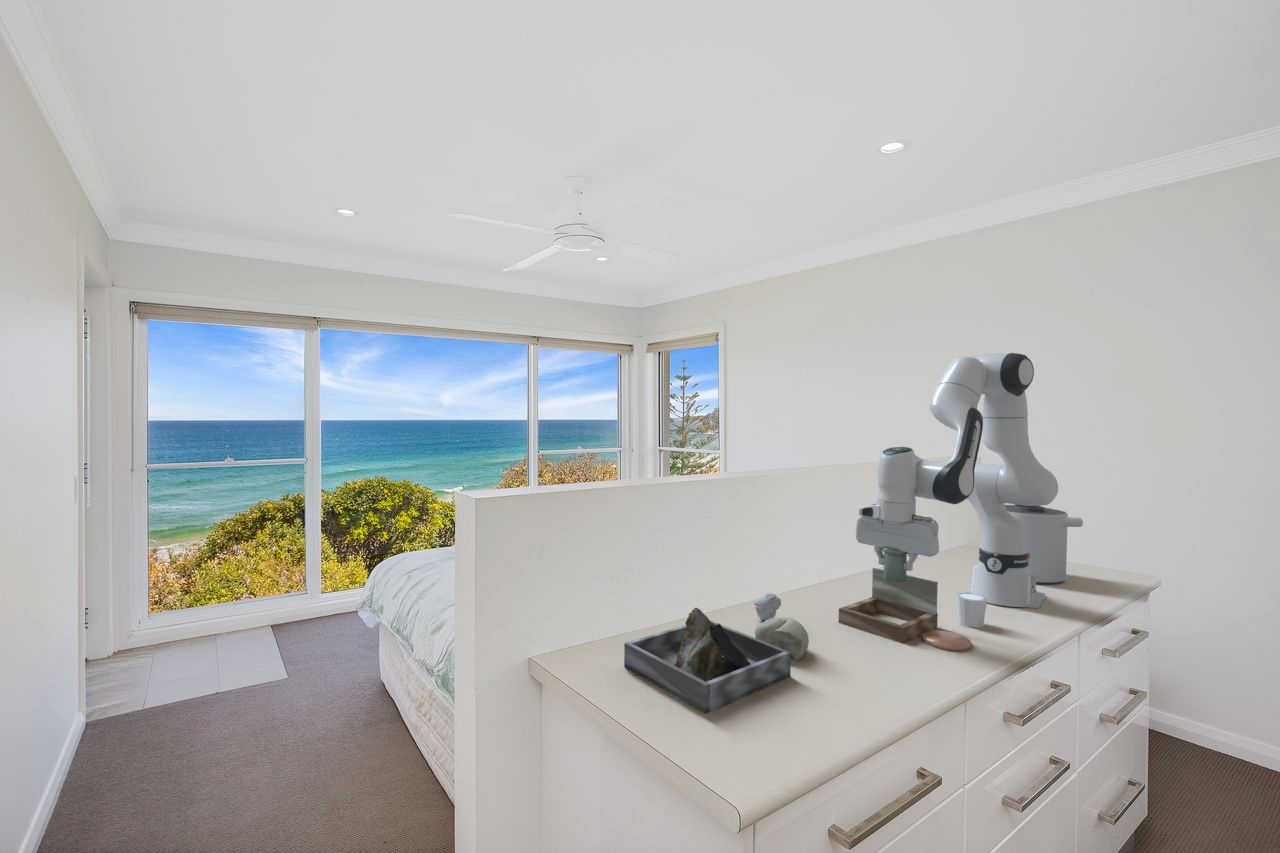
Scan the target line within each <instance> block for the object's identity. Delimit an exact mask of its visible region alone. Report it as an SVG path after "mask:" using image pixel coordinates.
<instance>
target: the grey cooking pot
mask: <svg viewBox="0 0 1280 853" xmlns="http://www.w3.org/2000/svg"><path fill="white" fill-rule="evenodd" d="M1005 507H1006V509H1007V511H1008V512H1009V513H1010V514H1011V515H1012V516H1014V517H1015V518H1017V519H1019V520H1020V521H1021V522H1022V523H1023V524H1024V526H1025V528H1026V552H1030V557H1029V559H1028V564H1029V565H1028V568H1029V569H1030V570H1031V571H1032V573H1033V574H1034V575H1035V576H1036V585H1061V584H1063V583H1065V582H1066V580H1067V554H1068V552H1067V551H1068V550H1067V549H1068V528H1081V527H1083V524H1084V521H1083V518H1082V517H1078V516H1077V517H1076V516H1073V517H1072V516H1068V515H1069V513H1068V512H1067V511H1065V510H1062V509H1058V508H1053V507H1044V506H1043V505H1040V506H1024V505H1016V504H1005Z"/></svg>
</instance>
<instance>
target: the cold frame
mask: <svg viewBox="0 0 1280 853" xmlns="http://www.w3.org/2000/svg"><path fill="white" fill-rule="evenodd" d="M871 581H872V582H871V583H872V586H871V587H872V588H871V597H869V598H866V599H863V600H859V601H857V602H854V603H851V604H848V605H845V606H843V607H840V608H838V623H840V624H843V625H845V626H850V627H852V628H855V629H859V630H862V631H865V632H867V633H871V634H874V635H876V636H880V637H883V638H887V639H889V640H893V641H895V642H899V643H902V644H904V643H906V642H909V641H910V640H913V639H915V638H918V637H919V636H921V635H922V636H923V633H924V632H926V631H932V630H934V629H937V628H938V618H939V616H938V615H939V613H938V590H939V589H938V587H939V586H938V585H939V584H938V583H939V582H938V581H937V580H931V579H928V578H927V579H926V578H922V577H918V576H914V575H908V574H906V582H902V583H897V582H890V581H887V580H884V568H883V569H882V568H879V567H872V580H871ZM874 613H879V614H884V615H886V616H890V617H894V618H897V619H901V620H903V621H906V622H904V623H901V624H900V623H896V622H892V621H889V620H886V619H882V618H880V617H876V616H873V615H872V614H874ZM936 627H937V628H936Z"/></svg>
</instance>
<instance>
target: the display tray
mask: <svg viewBox="0 0 1280 853" xmlns="http://www.w3.org/2000/svg"><path fill="white" fill-rule="evenodd" d="M709 620H710V619H709ZM710 621H711V622H712V623H713V624H715V625H716V626H717V625H718V623H719V622H716V621H712V620H710ZM719 624H720V625H721V626H722V628H723V629H724V631H725V633H726V635H728V637H729V639H730V640H731V641H732V643H733V644H734V645H735V646H736V647H737V648H738V649H739V650H740V651H741V652H742V653H743V654H744V656H745V657H746V658H747V660H748V661H749V662H750V663H751V665H749V666H746V667H743V668H741V669H738V670H736V671H733V672H731V673H728V674H725V675H723V676H720V677H718V678H715V679H712V680H710V681H707V682H705V681H703V680H701V679H699V678H697V677H696V676H694V675H692V674H690V673H688V672H686V671H684V670H682V669H680V668H678V667H676V666H674V664H675V662H676V660H677V658H676V657H677V655H678V654H679V651H681V644H682V642H683V637H684V635H685V633H686V632H687V631H686V624H684V625H682V626H678V627H674V628H672V629H668V630H664V631H660V632H657V633H655V634H654V633H653V634H650V635H647V636H644V637H641V638H637V639H633V640H631V641H627V642H624V646H623V647H624V651H623V652H624V653H623V654H624V655H623V656H624V658H623V659H624V660H623V661H624V662H623V664H624V665H623V666H624V668H626V669H627V670H628V671H631V672H632V673H634V674H636V675H638V676H639V677H642V678H643V679H645V680H646V681H648V682H650V683H651V684H654V685H655V686H656V687H659V688H660V689H663V691H666V692H668V693H670V694H671V695H673V696H674V697H676V698H678V699H680V700H682V701H683V702H685V703H687V704H688V705H690V706H692V707H694V708H695V709H697V710H699V711H701V712H702V713H704V714H709V713H710V712H712V711H715V710H717V709H719V708H722V707H724V706H727V705H728V704H731V703H733V702H735V701H738V700H740V699H742V698H745V697H747V696H750V695H752V694H754V693H756V692H758V691H761V690H764V689H765V688H768V687H770V686H773V685H775V684H777V683H779V682H781V681H785V680H786V679H789V678H790V677H791V670H792V668H791V667H792V666H791V665H792V664H791V662H792V660H791V659H792V655H791V652H789V651H786V650H785V649H784V648H782V649H781V648H779V647H776V646H774V645H771V644H769V643H766V642H764V641H761V640H759V639H756V638H755V636H754V637H753V636H751V635H748V634H745V633H743V632H741V631H739V630H737V629H733V628H730V627H729V626H725V625H723V624H721V623H719Z"/></svg>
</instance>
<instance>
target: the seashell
mask: <svg viewBox="0 0 1280 853" xmlns="http://www.w3.org/2000/svg"><path fill="white" fill-rule="evenodd" d="M754 638H756V639H759V640H761V641H764V642H766V643H769V644H771V645H774V646H776V647H779V648H781V649H784V650H786V651H789V652H791V657H793V659H794V660H795V661H800V660H801V659H802V657H803V656H805V653H806V652H807V650H808V646H809V642H810V641H809V635H808V632H807V630H806V629H805V627H804V626H803V624H802V623H800V622H799V621H798V620H796V619H794V618H792V617H786V616H785V617H776V616H775V617H774V618H770V619H768V620H766V621H765V620H763V622H761V623H759V624H758V625H756V627H755V630H754Z"/></svg>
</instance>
